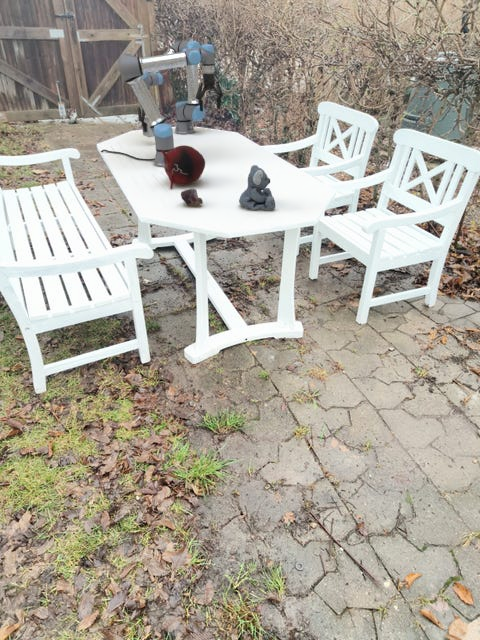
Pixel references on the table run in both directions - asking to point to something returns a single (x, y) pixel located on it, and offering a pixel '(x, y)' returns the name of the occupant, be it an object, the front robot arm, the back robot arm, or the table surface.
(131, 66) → the front robot arm
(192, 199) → the rock
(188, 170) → the red pot
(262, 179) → the koala plush
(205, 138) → the table surface
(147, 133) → the block
